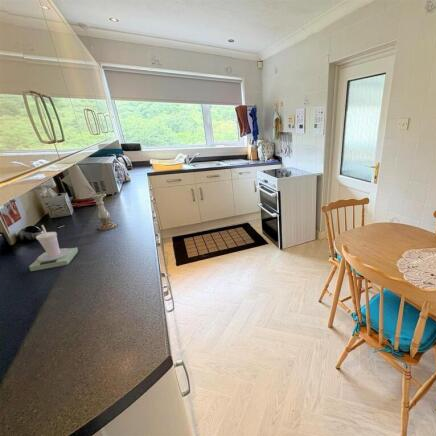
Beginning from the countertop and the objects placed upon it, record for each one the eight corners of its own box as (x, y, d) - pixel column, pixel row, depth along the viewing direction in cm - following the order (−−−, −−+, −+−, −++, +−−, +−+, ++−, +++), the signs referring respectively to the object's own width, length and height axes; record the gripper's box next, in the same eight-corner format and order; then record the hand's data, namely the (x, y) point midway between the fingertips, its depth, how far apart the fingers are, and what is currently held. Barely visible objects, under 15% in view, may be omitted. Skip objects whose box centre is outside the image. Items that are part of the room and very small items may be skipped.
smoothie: (64, 249, 108) (53, 221, 102) (63, 254, 103) (51, 226, 98) (45, 253, 104) (32, 225, 99) (43, 259, 99) (30, 230, 94)
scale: (30, 271, 96) (27, 265, 95) (45, 256, 107) (43, 251, 106) (67, 264, 101) (65, 259, 100) (78, 251, 112) (76, 245, 111)
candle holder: (110, 223, 143) (100, 192, 136) (120, 225, 140) (110, 193, 133) (95, 229, 136) (83, 195, 128) (104, 231, 133) (93, 197, 125)
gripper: (-21, 172, 96) (-11, 201, 94) (48, 165, 108) (57, 191, 107) (-13, 179, 101) (-4, 207, 99) (51, 172, 113) (60, 197, 112)
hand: (28, 199), depth 103 cm, fingers open, 8 cm apart
